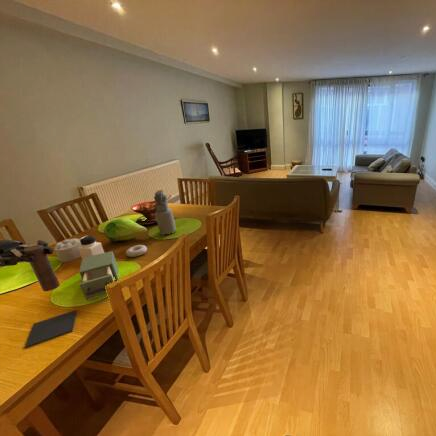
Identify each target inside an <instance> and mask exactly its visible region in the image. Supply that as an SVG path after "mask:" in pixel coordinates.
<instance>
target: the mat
mask: <svg viewBox="0 0 436 436" xmlns="http://www.w3.org/2000/svg"><path fill="white" fill-rule="evenodd" d="M77 311H78V310H77V309H74V310H71V311H68V312H65V313H62V314H59V315H55V316H53V317H50V318H47V319H43V320H40V321H38V322H34V323H33V324H32V327H31V330H30V332H29V334H28V337H27V340H26V342H25V345H24V348H25V349H27V348H29V347H33V346H35V345H38V344H41V343H43V342H46V341H49V340H52V339H55V338H58V337H60V336H64V335H66V334H69V333H72V332H73V331H74V326H75V322H76V316H77Z"/></svg>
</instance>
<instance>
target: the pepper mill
mask: <svg viewBox="0 0 436 436" xmlns="http://www.w3.org/2000/svg"><path fill="white" fill-rule="evenodd" d="M32 245H33V246H30V247H27V248H25V249H24V252H25V255H33V256H34V257H35V259H36V261H35V262H28V263H29V265H30V267H31V269H32V271H33V273H34V275H35V277H36V280H37V281H38V283H39V285H40V287H41V289H42V291H43V292H50V291H54V290H55V289H57V288H59V287H60V286H61V284H60V282H59V279H58V277H57V275H56V273H55V270H54V268H53V265H52V264H51V262H50V259H49V257H48V254H46V252H45V250H44V248H43V246H42V245H34V244H32Z"/></svg>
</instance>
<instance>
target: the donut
mask: <svg viewBox="0 0 436 436" xmlns="http://www.w3.org/2000/svg"><path fill="white" fill-rule="evenodd" d="M147 251H148V247H147V246H146V245H143V244H136V245H133V246H130V247H129V248H128V249H127V250H126V251H125V254H126V256H127V257H130V258H137V257H140V256H142V255H144V254H146V252H147Z"/></svg>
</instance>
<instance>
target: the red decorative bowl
mask: <svg viewBox="0 0 436 436" xmlns="http://www.w3.org/2000/svg"><path fill="white" fill-rule="evenodd" d="M171 197H172V196H171V195H169V196H168V197H167V201H169V200H170V198H171ZM155 205H156V202H155V200H150V201H145V202H140V203H137V204H134V205H132V206H131V208H130V210H132V211H133V212H134V213H137V214H140V215H142V216H139V217H138V218H136V221H134V222H135V223H137V224H139V225H149V224H154V223H157V219H156V215H155V213H156V210H155ZM156 209H157V206H156ZM145 218H147V219H146V220H145V221H142V220H143V219H145Z"/></svg>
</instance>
